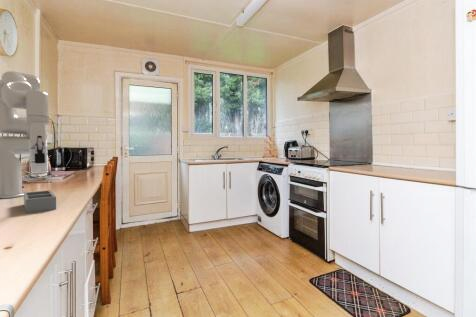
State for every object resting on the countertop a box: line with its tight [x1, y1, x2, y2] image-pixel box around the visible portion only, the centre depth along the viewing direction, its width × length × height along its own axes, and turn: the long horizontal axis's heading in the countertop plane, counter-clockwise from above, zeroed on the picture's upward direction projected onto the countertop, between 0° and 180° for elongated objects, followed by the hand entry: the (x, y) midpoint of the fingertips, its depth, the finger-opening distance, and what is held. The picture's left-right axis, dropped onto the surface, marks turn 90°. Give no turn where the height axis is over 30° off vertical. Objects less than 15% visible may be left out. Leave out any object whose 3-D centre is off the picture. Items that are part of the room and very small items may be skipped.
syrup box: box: [29, 139, 50, 175], centre depth 107 cm, size 6×6×14 cm
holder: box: [23, 190, 57, 214], centre depth 111 cm, size 19×10×6 cm, turn 42°
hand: (39, 162), depth 107 cm, fingers closed on syrup box, 6 cm apart
